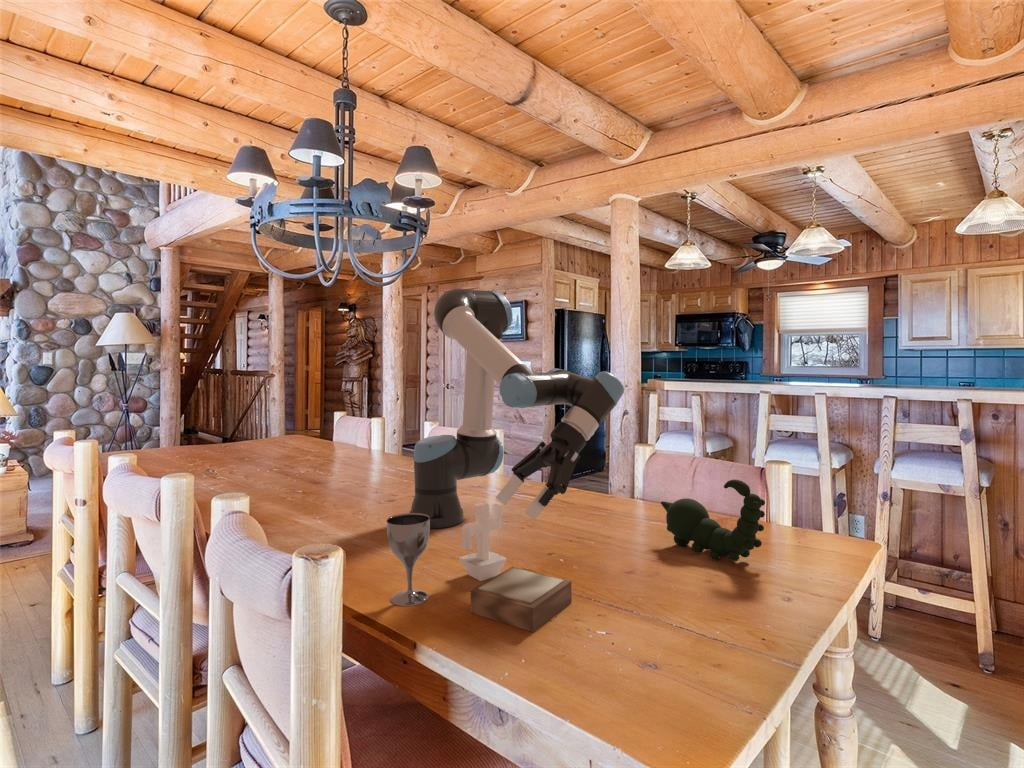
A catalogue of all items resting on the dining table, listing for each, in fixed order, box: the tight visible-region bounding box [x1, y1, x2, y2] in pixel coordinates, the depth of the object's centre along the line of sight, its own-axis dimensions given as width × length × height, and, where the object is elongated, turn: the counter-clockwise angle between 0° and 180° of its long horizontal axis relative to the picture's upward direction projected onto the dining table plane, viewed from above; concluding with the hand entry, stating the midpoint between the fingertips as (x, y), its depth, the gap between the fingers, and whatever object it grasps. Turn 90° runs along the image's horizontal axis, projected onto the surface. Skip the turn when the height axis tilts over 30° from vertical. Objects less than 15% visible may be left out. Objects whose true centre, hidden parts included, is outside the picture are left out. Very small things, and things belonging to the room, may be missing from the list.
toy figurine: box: [660, 478, 766, 562], centre depth 124 cm, size 10×19×26 cm
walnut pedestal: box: [470, 566, 573, 633], centre depth 97 cm, size 13×13×4 cm
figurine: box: [458, 502, 508, 582], centre depth 112 cm, size 7×9×15 cm
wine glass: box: [386, 512, 431, 607], centre depth 102 cm, size 8×8×15 cm
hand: (513, 508), depth 114 cm, fingers open, 13 cm apart
